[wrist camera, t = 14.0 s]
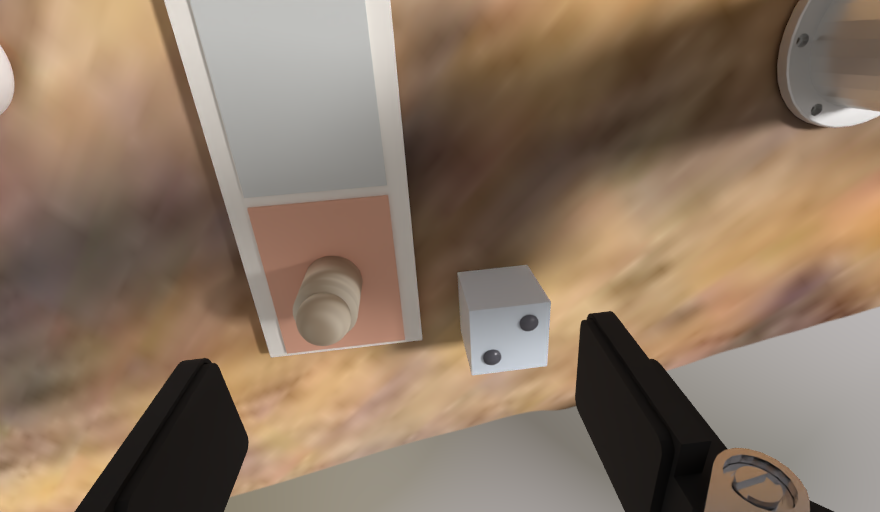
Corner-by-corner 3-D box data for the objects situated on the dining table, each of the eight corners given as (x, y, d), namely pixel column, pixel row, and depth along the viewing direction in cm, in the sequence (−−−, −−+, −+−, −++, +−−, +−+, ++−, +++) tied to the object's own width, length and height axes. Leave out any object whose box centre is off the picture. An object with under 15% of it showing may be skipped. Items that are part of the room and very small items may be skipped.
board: (386, -37, 26) (386, -40, 25) (421, 333, 38) (422, 341, 37) (164, -25, 25) (153, -29, 24) (273, 349, 37) (270, 359, 36)
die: (527, 264, 36) (551, 302, 31) (525, 322, 39) (547, 367, 34) (457, 272, 36) (469, 312, 31) (460, 329, 39) (472, 376, 33)
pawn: (359, 253, 33) (350, 303, 26) (365, 302, 35) (358, 359, 28) (300, 257, 32) (277, 308, 26) (310, 306, 34) (290, 364, 28)
